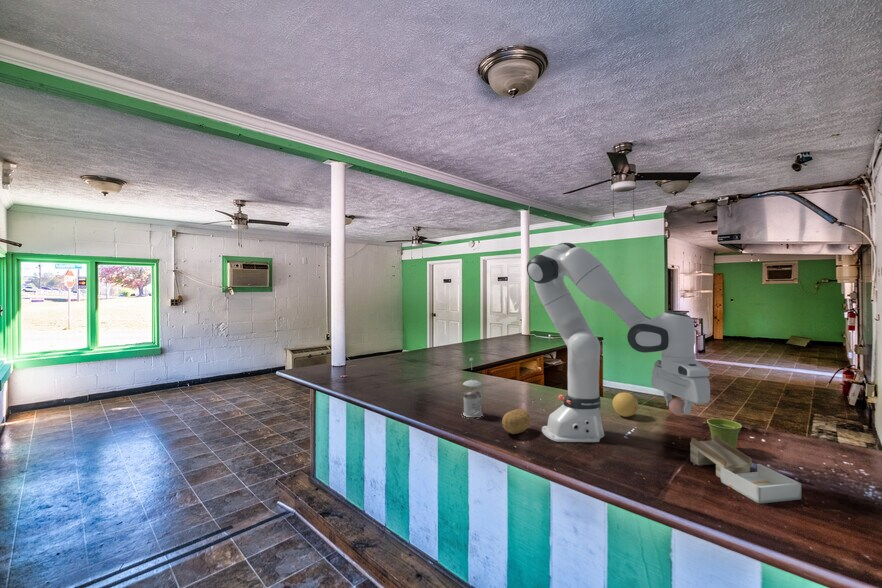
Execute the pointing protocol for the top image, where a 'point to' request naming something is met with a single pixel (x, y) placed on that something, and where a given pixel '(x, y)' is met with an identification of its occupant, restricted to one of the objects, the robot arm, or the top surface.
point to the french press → (472, 399)
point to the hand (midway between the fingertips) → (678, 410)
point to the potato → (516, 421)
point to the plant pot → (725, 430)
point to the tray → (763, 485)
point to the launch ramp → (719, 456)
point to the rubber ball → (677, 407)
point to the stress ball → (625, 404)
